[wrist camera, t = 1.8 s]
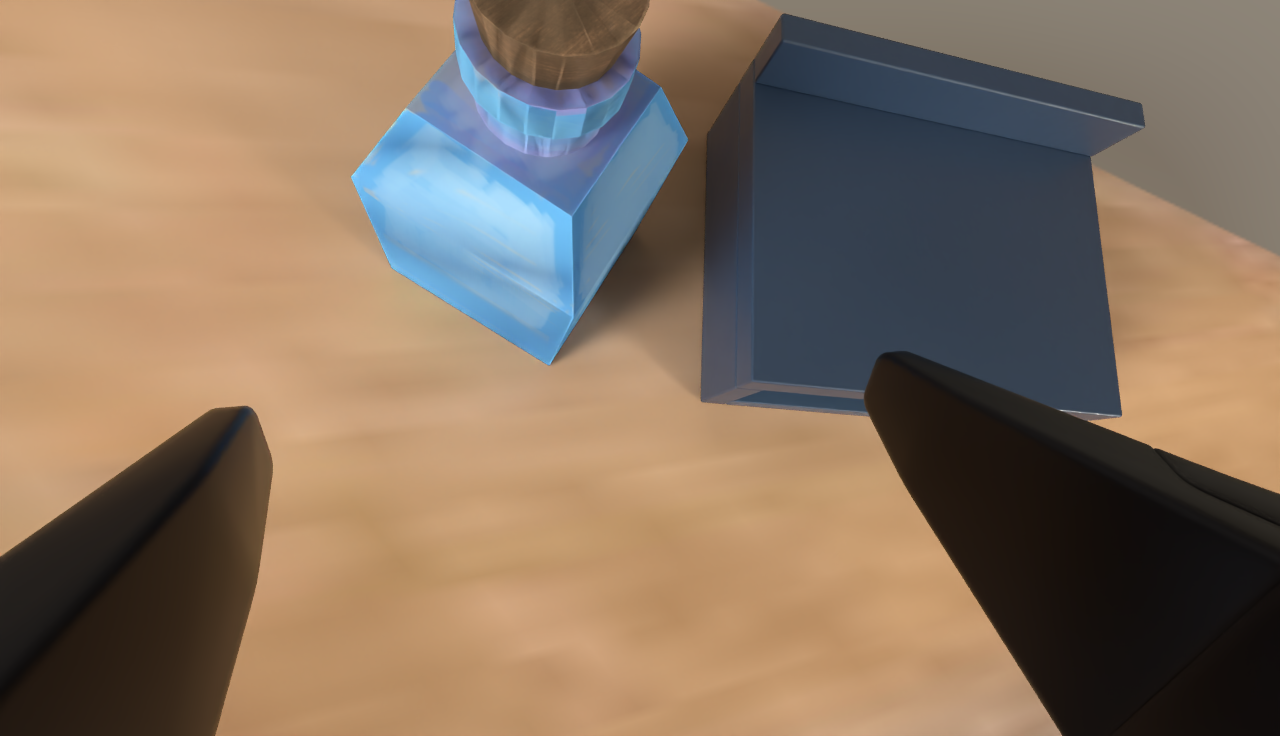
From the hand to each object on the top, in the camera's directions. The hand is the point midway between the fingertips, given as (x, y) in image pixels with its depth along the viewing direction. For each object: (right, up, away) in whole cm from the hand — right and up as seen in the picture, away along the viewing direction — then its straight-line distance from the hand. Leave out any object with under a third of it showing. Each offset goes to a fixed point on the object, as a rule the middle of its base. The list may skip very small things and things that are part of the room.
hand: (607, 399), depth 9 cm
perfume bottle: (-4, +5, +13) cm, 14 cm away
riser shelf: (+10, +4, +16) cm, 19 cm away
